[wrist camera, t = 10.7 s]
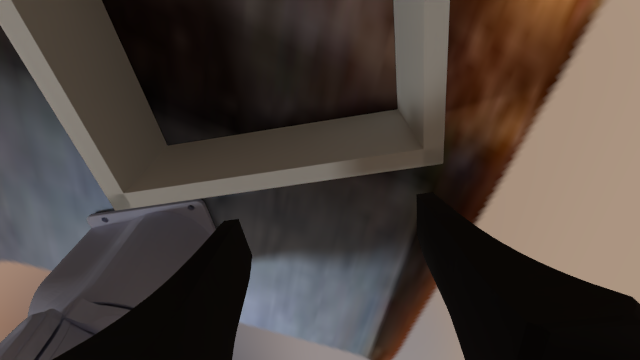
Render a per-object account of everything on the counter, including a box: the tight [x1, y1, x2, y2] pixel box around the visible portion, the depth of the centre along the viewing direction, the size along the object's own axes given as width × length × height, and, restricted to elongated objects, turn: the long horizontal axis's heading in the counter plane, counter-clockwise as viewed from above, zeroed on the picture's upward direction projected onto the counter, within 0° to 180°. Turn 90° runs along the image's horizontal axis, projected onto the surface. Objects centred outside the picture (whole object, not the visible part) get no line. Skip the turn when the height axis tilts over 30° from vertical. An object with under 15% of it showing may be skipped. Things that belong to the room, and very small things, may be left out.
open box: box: [0, 0, 450, 211], centre depth 16 cm, size 18×13×6 cm
